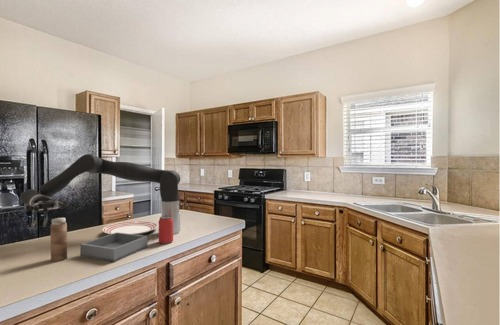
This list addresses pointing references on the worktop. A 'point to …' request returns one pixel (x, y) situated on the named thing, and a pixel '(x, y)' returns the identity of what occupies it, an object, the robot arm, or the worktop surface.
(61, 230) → the pepper mill
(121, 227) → the dinner plate
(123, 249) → the bin
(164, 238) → the beer can
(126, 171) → the robot arm
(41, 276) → the worktop surface
